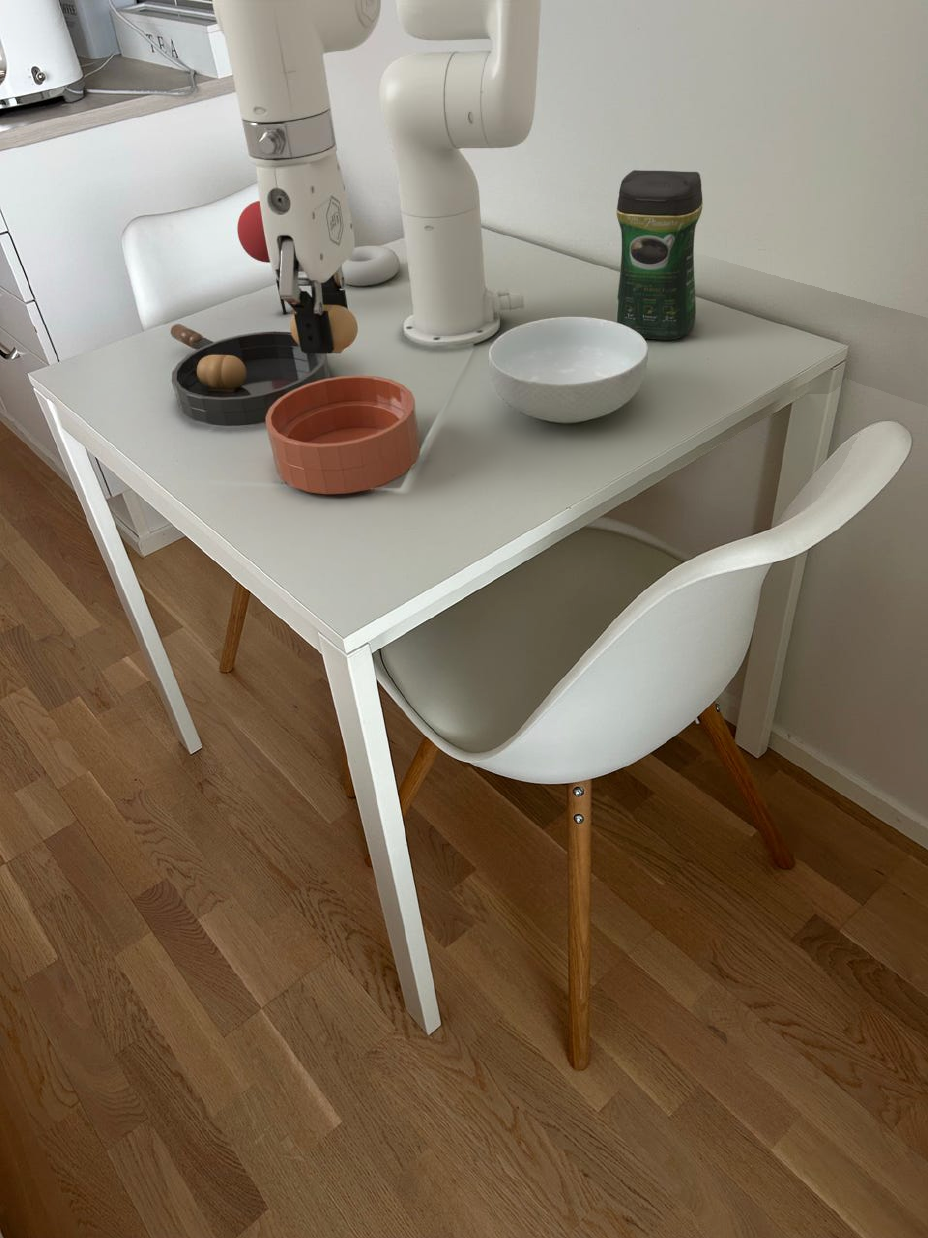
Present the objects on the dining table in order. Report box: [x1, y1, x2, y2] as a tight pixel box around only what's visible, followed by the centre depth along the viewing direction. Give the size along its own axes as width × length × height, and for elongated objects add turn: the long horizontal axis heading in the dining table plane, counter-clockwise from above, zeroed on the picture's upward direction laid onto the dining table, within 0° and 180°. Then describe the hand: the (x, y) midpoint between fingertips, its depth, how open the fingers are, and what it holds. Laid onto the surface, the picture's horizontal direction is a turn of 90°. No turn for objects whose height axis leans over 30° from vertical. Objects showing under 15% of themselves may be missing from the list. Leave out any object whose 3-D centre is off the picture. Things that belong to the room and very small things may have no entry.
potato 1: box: [197, 355, 246, 392], centre depth 116 cm, size 6×4×4 cm, turn 77°
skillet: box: [171, 331, 332, 427], centre depth 115 cm, size 18×18×4 cm
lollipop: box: [236, 200, 288, 315], centre depth 131 cm, size 8×8×15 cm
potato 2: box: [289, 305, 359, 355], centre depth 93 cm, size 7×4×4 cm, turn 77°
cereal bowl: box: [488, 316, 649, 424], centre depth 105 cm, size 17×17×7 cm
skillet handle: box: [170, 323, 215, 350], centre depth 123 cm, size 10×2×2 cm, turn 42°
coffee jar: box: [615, 169, 704, 340], centre depth 115 cm, size 10×8×19 cm
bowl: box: [265, 374, 421, 495], centre depth 100 cm, size 15×15×6 cm
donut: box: [342, 245, 401, 287], centre depth 143 cm, size 10×4×10 cm
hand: (326, 339), depth 94 cm, fingers closed on potato 2, 4 cm apart
